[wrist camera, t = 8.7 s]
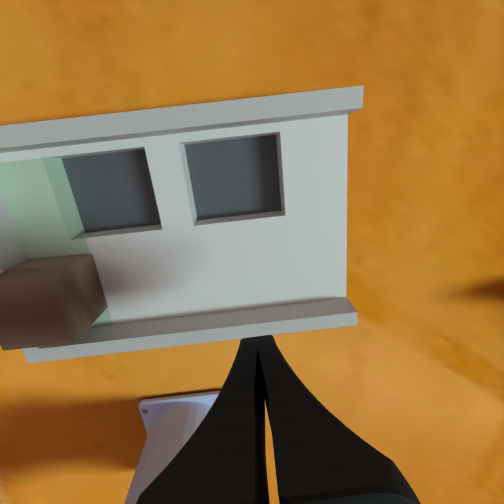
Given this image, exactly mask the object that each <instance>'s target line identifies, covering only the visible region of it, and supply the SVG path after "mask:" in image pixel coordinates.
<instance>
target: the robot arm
mask: <svg viewBox="0 0 504 504" xmlns="http://www.w3.org/2000/svg"><path fill="white" fill-rule="evenodd" d="M265 402H266V407H267V411H268V416H269V421H270V426H271V431H272V438H273V447H274V457H275V466H276V476H277V486H278V495H279V502H280V504H420V502H419V500H418V498H417V496H416V495H415V493H414V491H413V490H412V488H411V487H410V485H409V484H408V482H407V481H406V479H405V478H404V476H403V475H402V473H401V472H400V470H399V469H398V468H397V466H396V465H395V464H394V462H393V461H392V460H390V459H389V458H388V457H386V456H385V455H383V454H382V453H380V452H379V451H377V450H376V449H375V448H373V447H372V446H371V445H369V444H368V443H366V442H365V441H364V440H363V439H361V438H360V437H359V436H357V435H356V434H355V433H354V432H352V431H351V430H350V429H349V428H347V427H346V426H345V425H344V424H343V423H342V422H341V421H340V420H338V419H337V418H336V417H335V416H334V415H333V414H332V413H330V412H329V411H328V410H327V409H326V408H325V407H324V406H323V405H322V404H321V403H320V402H319V401H318V400H317V399H316V398H315V397H314V396H313V394H312V393H311V392H310V391H309V390H308V389H307V388H306V387H305V385H304V384H303V383H302V382H301V381H300V379H299V378H298V377H297V376H296V374H295V373H294V372H293V370H292V369H291V367H290V366H289V364H288V363H287V362H286V360H285V359H284V357H283V355H282V354H281V352H280V350H279V349H278V347H277V345H276V343H275V340H274V338H273V336H272V335H264V336H256V337H249V338H243V339H242V340H241V341H240V345H239V349H238V352H237V355H236V358H235V360H234V363H233V365H232V368H231V370H230V372H229V375H228V377H227V379H226V381H225V383H224V385H223V387H222V389H221V391H212V392H203V393H195V394H186V395H178V396H169V397H161V398H152V399H144V400H141V401H140V403H139V405H138V408H139V411H140V414H141V417H142V420H143V423H144V426H145V429H146V432H147V438H146V441H145V444H144V447H143V450H142V453H141V456H140V459H139V462H138V465H137V468H136V470H135V473H134V476H133V479H132V482H131V485H130V488H129V491H128V494H127V497H126V500H125V503H124V504H270V502H269V492H268V481H267V470H266V453H265ZM146 409H147V410H146Z"/></svg>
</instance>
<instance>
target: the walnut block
mask: <svg viewBox="0 0 504 504" xmlns="http://www.w3.org/2000/svg"><path fill="white" fill-rule="evenodd" d="M107 307H108V305H107V302H106V299H105V295H104V292H103V288H102V285H101V281H100V278H99V275H98V271H97V268H96V264H95V261H94V258H93V254H82V255H71V256H60V257H49V258H38V259H30V260H28V261H26V262H24V263H22V264H20V265H17V266H15V267H13V268H11V269H9V270H7V271H5V272H2V273H0V345H1V347H2V349H3V350H12V349H22V348H33V347H43V346H54V345H64V344H75V342H76V341H77V340H78V339H79V338H80V337H81V336H82V335H83V334H84V333H85V332H86V330H87V329H88V328H89V327H90V326H91V325H92V324H93V323H94V322H95V321H96V319H97V318H98V317H99V316H100V315H101V314H102V313H103V312H104V311H105V310H106V309H107Z"/></svg>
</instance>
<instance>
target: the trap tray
mask: <svg viewBox="0 0 504 504" xmlns="http://www.w3.org/2000/svg"><path fill="white" fill-rule="evenodd" d="M361 108H363V86H354V87H345V88H336V89H327V90H318V91H309V92H300V93H291V94H282V95H273V96H264V97H255V98H246V99H237V100H228V101H219V102H210V103H201V104H192V105H183V106H174V107H165V108H156V109H147V110H138V111H129V112H120V113H111V114H102V115H93V116H84V117H75V118H66V119H57V120H48V121H39V122H30V123H21V124H12V125H3V126H0V273H2V272H5V271H7V270H9V269H11V268H13V267H15V266H17V265H20V264H22V263H24V262H26V261H28V260H30V259H38V258H49V257H60V256H71V255H82V254H93V258H94V261H95V264H96V268H97V271H98V275H99V278H100V281H101V285H102V288H103V292H104V295H105V299H106V302H107V305H108V307H107V309H106V310H105V311H104V312H103V313H102V314H101V315H100V316H99V317H98V318H97V319H96V321H95V322H94V323H93V324H92V325H91V326H90V327H89V328H88V329H87V330H86V332H85V333H84V334H83V335H82V336H81V337H80V338H79V339H78V340H77V341H76V342H75V344H64V345H54V346H43V347H33V348H22V351H23V353H24V355H25V357H26V360H27V362H28V363H35V362H43V361H52V360H61V359H69V358H78V357H86V356H95V355H104V354H112V353H121V352H129V351H138V350H147V349H155V348H164V347H172V346H181V345H190V344H198V343H207V342H216V341H224V340H233V339H241V338H249V337H256V336H264V335H276V334H284V333H293V332H302V331H310V330H319V329H327V328H336V327H345V326H353V325H357V313H358V312H357V311H356V309H355V308H354V307H353V306H352V304H351V303H350V302H349V300H348V299H347V298H346V248H347V142H348V114H350V113H352V112H355V111H357V110H359V109H361Z"/></svg>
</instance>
